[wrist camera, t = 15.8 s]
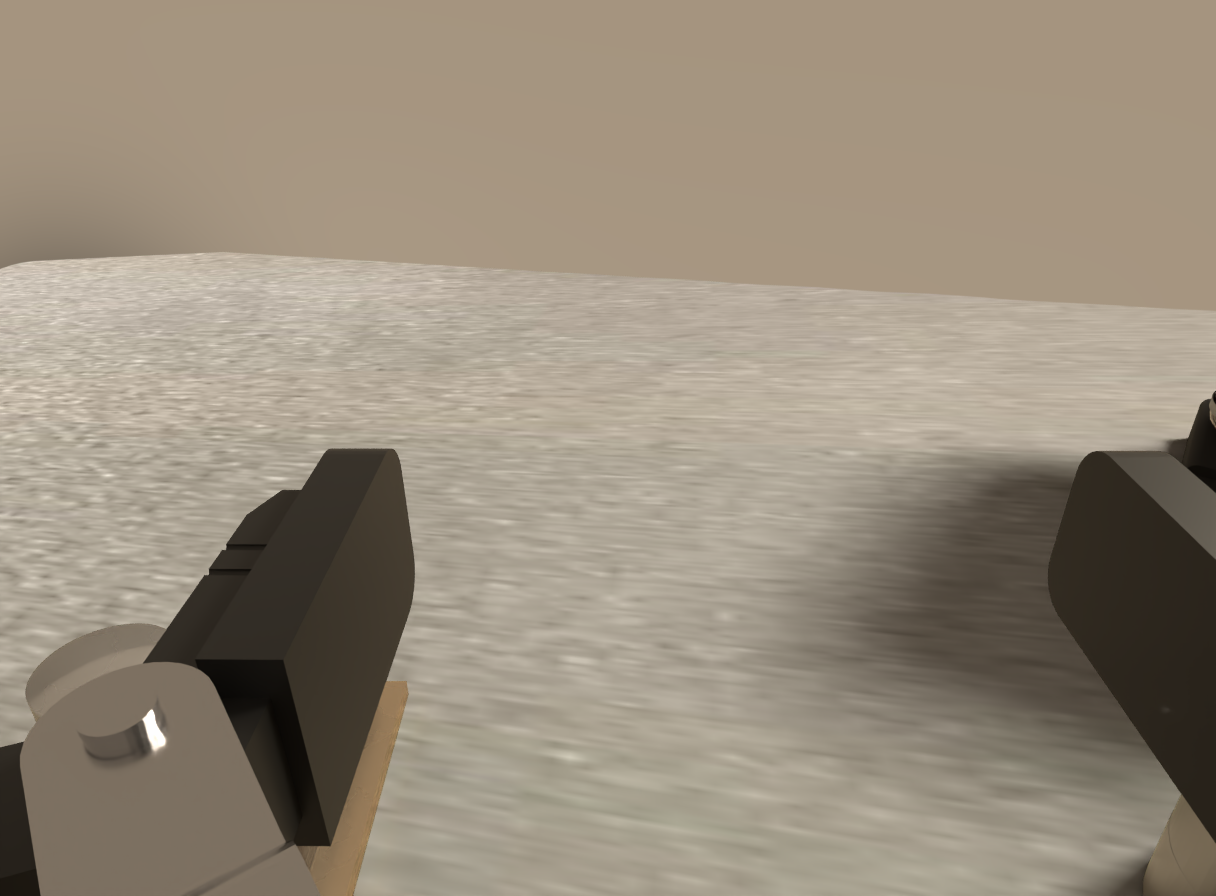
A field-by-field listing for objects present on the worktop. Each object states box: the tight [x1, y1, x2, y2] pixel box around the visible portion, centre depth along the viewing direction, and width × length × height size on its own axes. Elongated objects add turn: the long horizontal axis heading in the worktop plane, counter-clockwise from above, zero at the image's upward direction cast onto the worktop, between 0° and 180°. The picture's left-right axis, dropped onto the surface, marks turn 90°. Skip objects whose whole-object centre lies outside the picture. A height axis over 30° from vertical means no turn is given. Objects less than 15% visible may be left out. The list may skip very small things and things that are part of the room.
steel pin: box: [26, 624, 166, 722], centre depth 33 cm, size 5×5×15 cm
